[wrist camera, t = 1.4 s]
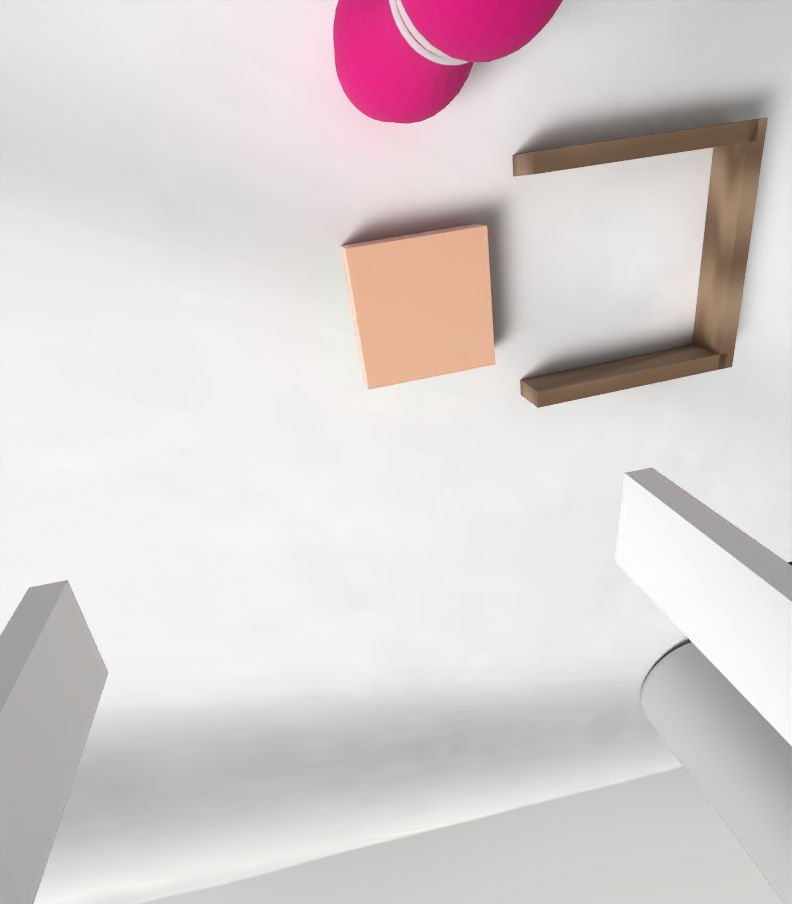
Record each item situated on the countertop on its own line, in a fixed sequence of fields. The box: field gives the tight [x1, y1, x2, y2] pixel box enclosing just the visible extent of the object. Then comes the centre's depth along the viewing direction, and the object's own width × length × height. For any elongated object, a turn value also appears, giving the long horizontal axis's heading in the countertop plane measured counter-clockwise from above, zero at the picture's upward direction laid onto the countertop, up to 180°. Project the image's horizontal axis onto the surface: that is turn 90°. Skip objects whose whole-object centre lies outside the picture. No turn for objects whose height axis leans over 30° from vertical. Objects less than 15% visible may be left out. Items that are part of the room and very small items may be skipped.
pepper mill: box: [333, 0, 562, 123], centre depth 23 cm, size 7×7×20 cm
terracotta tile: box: [341, 224, 495, 389], centre depth 37 cm, size 9×9×3 cm
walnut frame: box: [513, 118, 767, 408], centre depth 39 cm, size 16×16×3 cm
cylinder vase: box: [641, 642, 792, 904], centre depth 50 cm, size 12×12×25 cm
